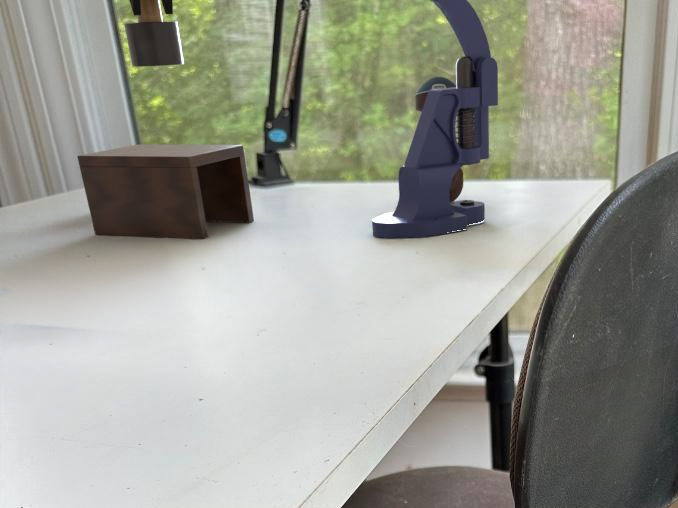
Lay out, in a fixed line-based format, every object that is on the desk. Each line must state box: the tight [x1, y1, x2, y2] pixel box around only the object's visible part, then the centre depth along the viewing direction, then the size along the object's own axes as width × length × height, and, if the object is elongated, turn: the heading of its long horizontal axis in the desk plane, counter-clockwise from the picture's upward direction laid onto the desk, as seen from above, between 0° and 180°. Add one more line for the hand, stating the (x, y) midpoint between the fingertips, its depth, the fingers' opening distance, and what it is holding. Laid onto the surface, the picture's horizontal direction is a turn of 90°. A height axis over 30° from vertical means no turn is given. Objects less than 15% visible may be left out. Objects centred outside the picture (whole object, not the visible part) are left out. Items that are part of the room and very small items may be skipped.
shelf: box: [76, 143, 255, 240], centre depth 113 cm, size 16×12×9 cm
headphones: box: [414, 76, 464, 203], centre depth 121 cm, size 6×15×22 cm
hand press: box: [371, 0, 499, 239], centre depth 102 cm, size 19×9×28 cm, turn 125°
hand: (152, 3), depth 94 cm, fingers closed on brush, 3 cm apart
